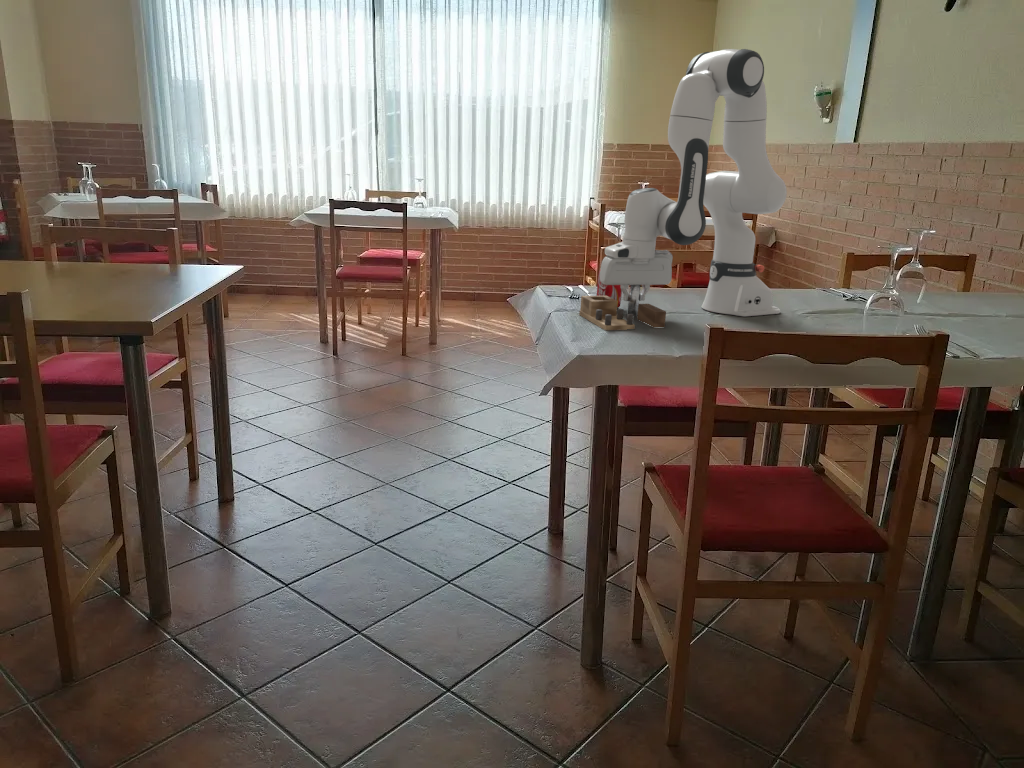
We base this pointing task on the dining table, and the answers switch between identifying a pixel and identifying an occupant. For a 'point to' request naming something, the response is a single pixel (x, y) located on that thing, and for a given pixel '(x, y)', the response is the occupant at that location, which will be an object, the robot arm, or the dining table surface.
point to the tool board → (613, 322)
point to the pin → (634, 299)
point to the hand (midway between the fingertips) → (633, 300)
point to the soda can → (609, 291)
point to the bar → (651, 315)
